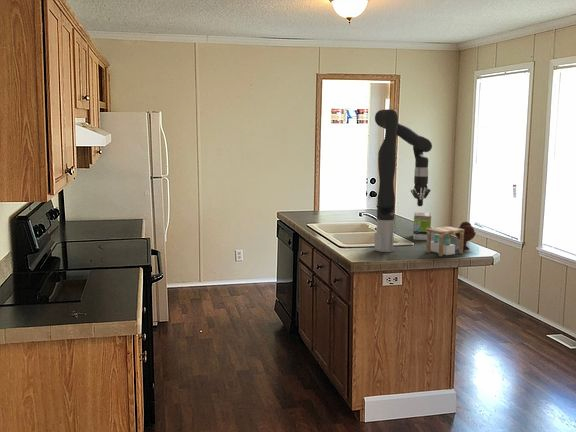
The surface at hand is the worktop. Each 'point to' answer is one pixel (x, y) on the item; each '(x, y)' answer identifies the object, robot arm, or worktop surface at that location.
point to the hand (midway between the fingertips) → (419, 206)
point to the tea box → (421, 225)
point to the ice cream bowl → (466, 233)
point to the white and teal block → (447, 247)
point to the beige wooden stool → (443, 231)
